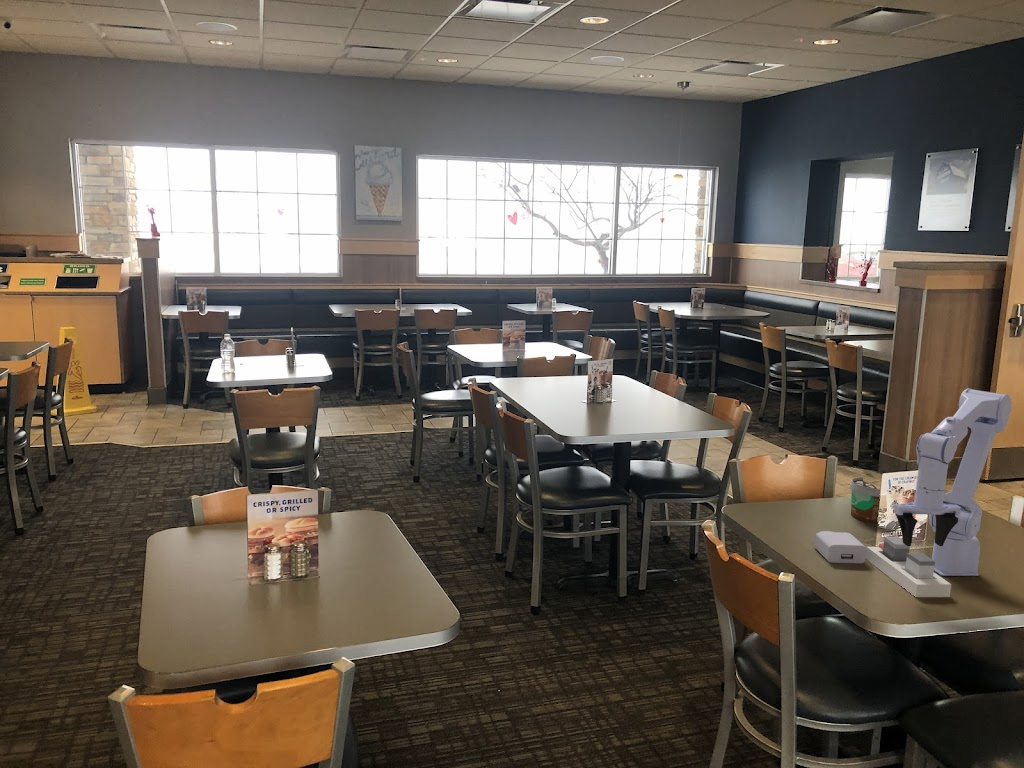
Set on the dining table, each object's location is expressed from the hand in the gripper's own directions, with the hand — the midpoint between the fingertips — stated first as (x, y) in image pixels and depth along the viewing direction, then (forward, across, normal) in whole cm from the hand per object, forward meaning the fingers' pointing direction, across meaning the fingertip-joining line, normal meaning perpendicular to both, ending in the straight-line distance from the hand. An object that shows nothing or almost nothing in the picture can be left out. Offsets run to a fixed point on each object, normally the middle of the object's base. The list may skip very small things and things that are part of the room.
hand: (922, 544), depth 187 cm
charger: (+10, -10, +21) cm, 25 cm away
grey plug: (+10, 0, 0) cm, 10 cm away
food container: (+10, +10, +46) cm, 48 cm away
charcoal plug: (+10, 0, +10) cm, 14 cm away
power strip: (+10, 0, +5) cm, 11 cm away
